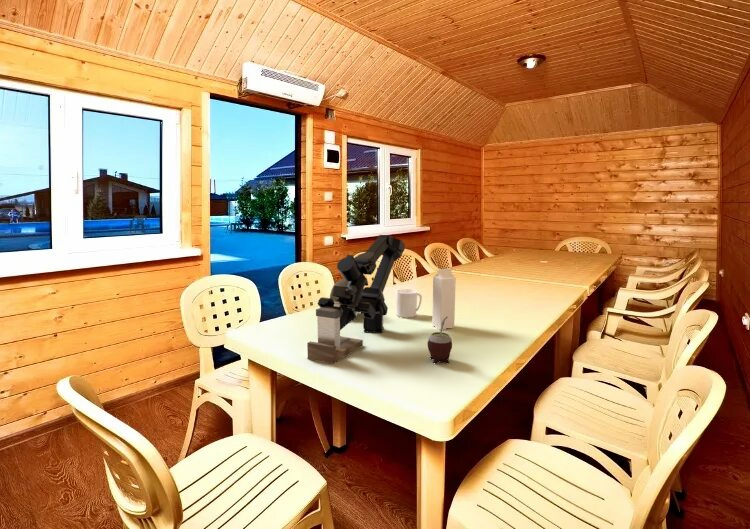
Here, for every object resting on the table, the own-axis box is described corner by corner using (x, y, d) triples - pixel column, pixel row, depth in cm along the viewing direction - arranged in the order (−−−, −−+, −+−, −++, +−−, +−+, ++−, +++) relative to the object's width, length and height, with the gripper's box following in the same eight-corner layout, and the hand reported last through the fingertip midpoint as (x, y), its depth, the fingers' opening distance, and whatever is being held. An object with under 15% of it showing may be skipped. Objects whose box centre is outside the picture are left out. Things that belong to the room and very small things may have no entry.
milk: (454, 328, 161) (456, 269, 158) (440, 330, 159) (442, 270, 156) (445, 324, 167) (447, 267, 163) (431, 325, 164) (433, 268, 161)
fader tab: (322, 345, 134) (321, 307, 133) (341, 348, 131) (341, 309, 130) (316, 348, 132) (315, 309, 130) (336, 351, 129) (335, 312, 127)
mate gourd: (435, 355, 133) (436, 307, 131) (458, 361, 128) (460, 311, 126) (421, 362, 127) (422, 312, 125) (445, 368, 122) (446, 316, 120)
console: (339, 341, 146) (338, 327, 145) (362, 345, 142) (362, 330, 141) (307, 358, 130) (307, 342, 129) (333, 364, 126) (333, 347, 125)
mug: (392, 317, 176) (392, 292, 175) (399, 312, 185) (399, 288, 183) (418, 320, 172) (418, 294, 171) (424, 314, 181) (424, 290, 179)
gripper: (319, 273, 141) (300, 314, 133) (371, 277, 133) (353, 321, 125) (333, 291, 149) (316, 331, 141) (382, 297, 141) (366, 340, 133)
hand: (336, 331), depth 135 cm, fingers closed
